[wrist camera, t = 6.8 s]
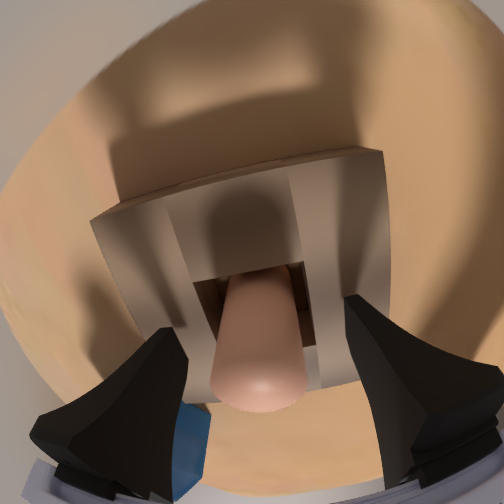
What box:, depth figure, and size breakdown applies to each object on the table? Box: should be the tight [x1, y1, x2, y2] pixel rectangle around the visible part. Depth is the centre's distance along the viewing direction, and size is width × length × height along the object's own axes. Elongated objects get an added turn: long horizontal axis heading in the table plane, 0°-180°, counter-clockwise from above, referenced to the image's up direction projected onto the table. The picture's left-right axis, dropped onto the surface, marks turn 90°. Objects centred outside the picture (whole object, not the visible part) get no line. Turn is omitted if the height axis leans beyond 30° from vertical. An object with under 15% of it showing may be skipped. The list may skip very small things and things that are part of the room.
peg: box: [210, 265, 308, 412], centre depth 11 cm, size 3×3×7 cm
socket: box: [90, 146, 391, 404], centre depth 13 cm, size 12×12×3 cm
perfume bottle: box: [172, 400, 211, 502], centre depth 15 cm, size 6×6×12 cm
